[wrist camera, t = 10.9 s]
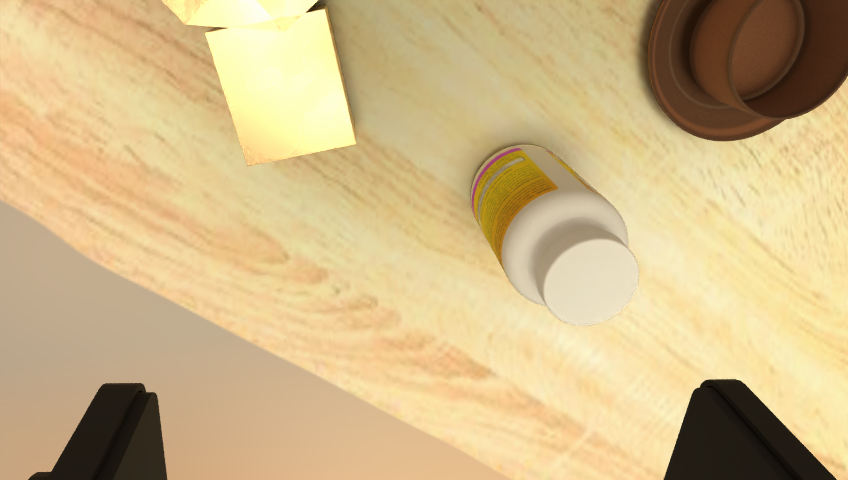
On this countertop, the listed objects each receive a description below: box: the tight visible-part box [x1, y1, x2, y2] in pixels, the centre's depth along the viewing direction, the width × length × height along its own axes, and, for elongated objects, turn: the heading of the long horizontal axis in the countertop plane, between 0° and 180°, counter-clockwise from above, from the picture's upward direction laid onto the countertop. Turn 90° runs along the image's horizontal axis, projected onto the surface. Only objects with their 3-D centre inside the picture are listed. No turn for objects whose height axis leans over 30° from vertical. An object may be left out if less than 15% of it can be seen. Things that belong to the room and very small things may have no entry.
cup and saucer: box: [648, 0, 848, 141], centre depth 34 cm, size 12×12×6 cm
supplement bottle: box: [471, 144, 639, 326], centre depth 34 cm, size 7×7×13 cm
